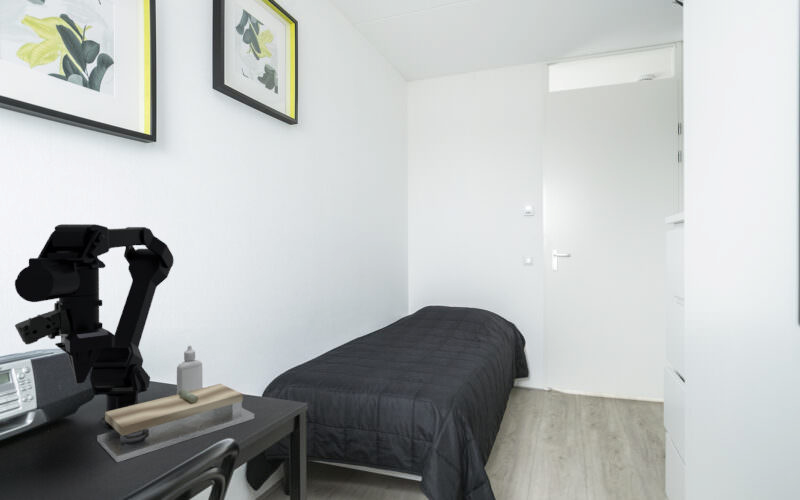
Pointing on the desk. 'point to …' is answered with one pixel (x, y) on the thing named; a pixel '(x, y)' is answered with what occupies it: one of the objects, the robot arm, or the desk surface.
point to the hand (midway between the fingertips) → (80, 382)
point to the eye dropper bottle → (189, 372)
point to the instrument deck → (171, 408)
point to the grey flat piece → (172, 432)
